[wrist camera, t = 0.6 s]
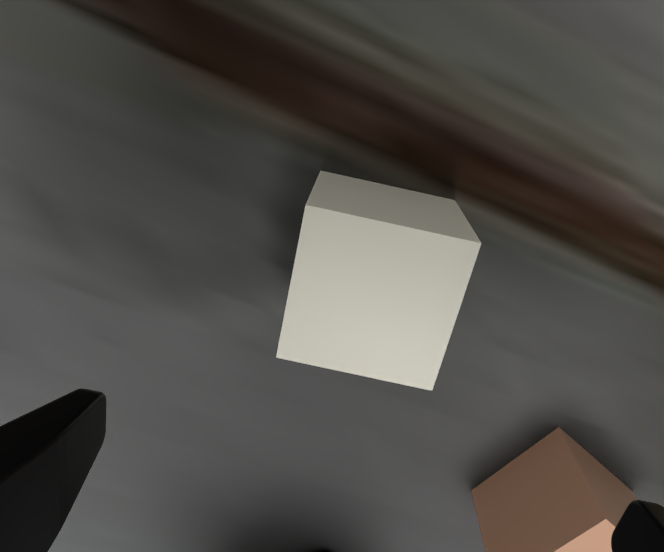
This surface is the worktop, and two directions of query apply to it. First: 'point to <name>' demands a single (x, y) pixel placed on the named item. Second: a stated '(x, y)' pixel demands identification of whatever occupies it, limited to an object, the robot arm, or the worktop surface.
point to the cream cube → (377, 280)
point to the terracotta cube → (551, 501)
